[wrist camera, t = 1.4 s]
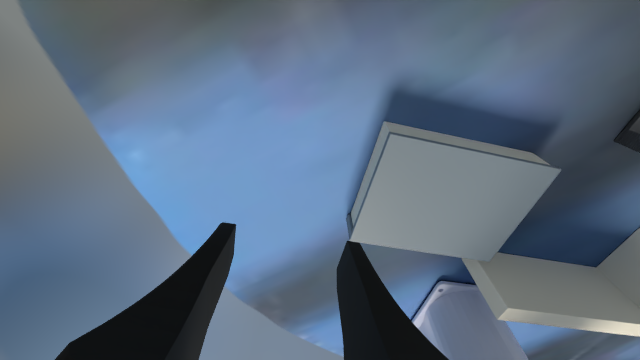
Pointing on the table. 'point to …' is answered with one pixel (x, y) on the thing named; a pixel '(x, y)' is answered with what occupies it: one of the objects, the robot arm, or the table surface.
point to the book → (445, 193)
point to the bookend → (631, 134)
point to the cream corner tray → (565, 290)
